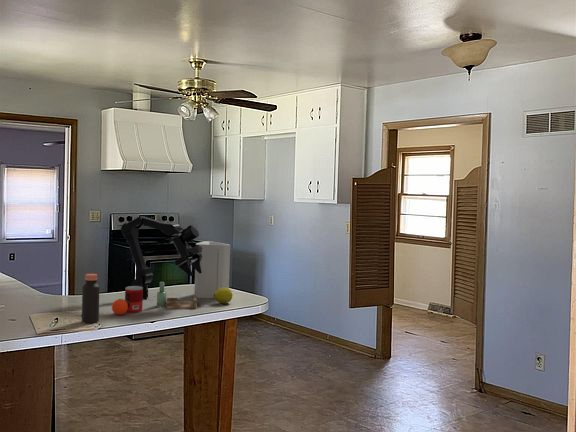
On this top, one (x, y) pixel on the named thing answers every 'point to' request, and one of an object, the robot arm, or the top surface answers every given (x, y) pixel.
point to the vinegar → (90, 299)
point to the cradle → (181, 304)
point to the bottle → (161, 296)
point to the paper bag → (212, 269)
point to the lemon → (223, 295)
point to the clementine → (120, 306)
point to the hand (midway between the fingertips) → (196, 274)
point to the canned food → (134, 298)
